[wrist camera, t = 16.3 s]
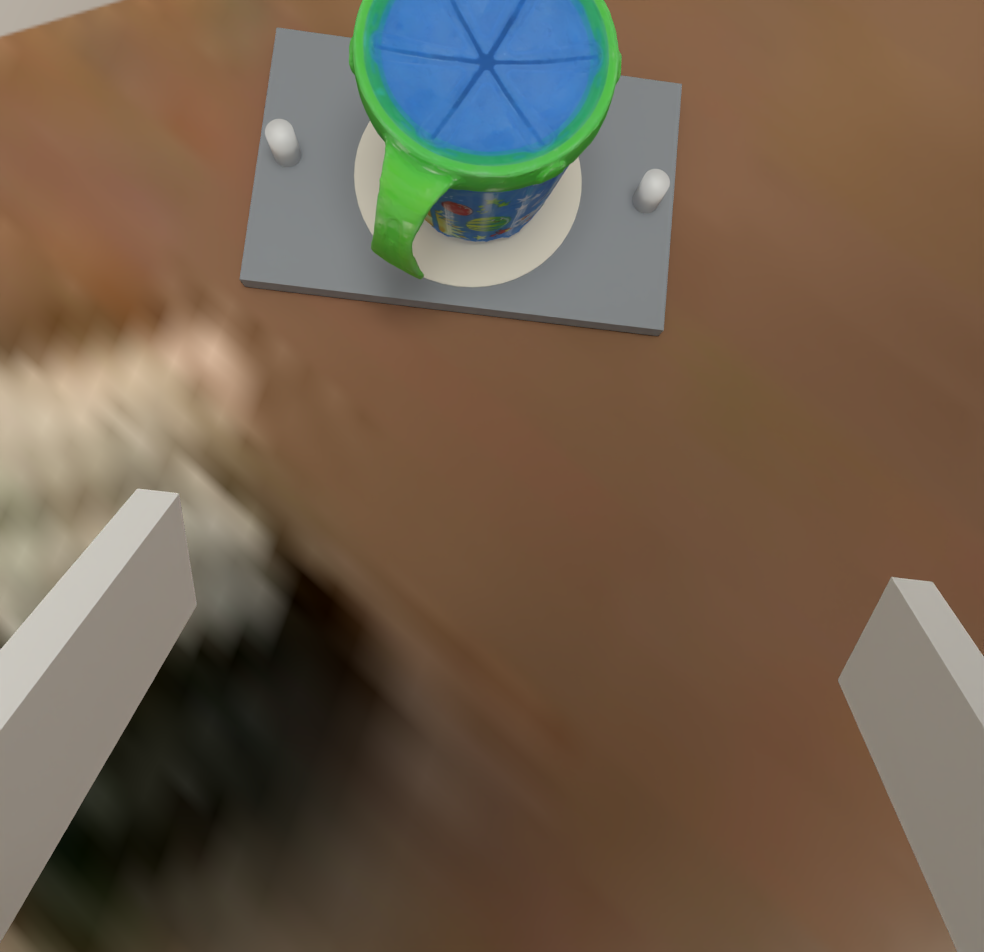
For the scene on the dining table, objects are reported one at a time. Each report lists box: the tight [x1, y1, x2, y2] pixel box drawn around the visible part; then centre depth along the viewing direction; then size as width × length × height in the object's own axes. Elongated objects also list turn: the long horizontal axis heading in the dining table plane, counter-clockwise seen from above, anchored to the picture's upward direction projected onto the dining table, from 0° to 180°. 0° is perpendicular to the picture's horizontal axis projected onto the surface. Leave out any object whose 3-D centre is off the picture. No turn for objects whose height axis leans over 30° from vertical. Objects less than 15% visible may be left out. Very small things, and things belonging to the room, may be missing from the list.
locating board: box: [240, 28, 682, 336], centre depth 38 cm, size 22×14×3 cm, turn 84°
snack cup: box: [349, 0, 622, 279], centre depth 33 cm, size 16×10×10 cm
